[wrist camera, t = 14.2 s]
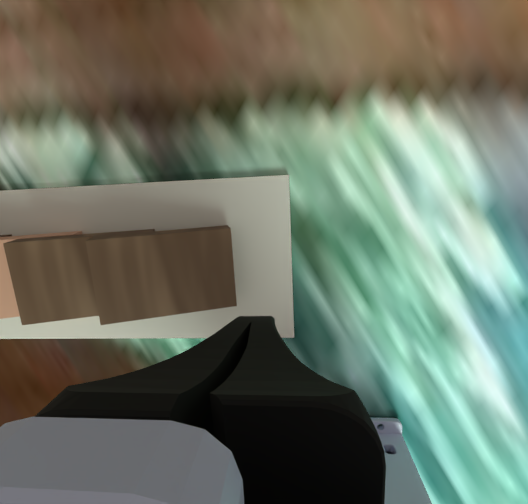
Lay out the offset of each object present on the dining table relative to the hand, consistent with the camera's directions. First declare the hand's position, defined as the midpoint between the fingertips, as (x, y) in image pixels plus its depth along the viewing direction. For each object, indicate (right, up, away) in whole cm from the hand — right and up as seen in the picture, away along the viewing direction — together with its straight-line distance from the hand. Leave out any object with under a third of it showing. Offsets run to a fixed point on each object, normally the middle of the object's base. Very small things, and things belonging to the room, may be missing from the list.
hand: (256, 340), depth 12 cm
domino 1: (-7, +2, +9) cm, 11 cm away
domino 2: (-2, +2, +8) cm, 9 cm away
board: (-10, +2, +11) cm, 15 cm away
